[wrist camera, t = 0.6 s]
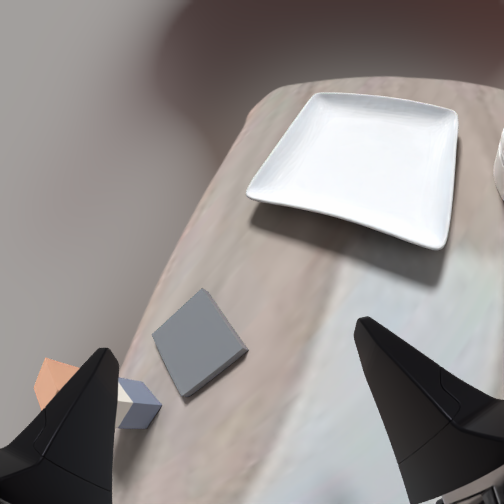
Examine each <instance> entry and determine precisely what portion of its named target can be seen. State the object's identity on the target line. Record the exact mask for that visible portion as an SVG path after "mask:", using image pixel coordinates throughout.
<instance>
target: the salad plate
mask: <svg viewBox="0 0 504 504" xmlns="http://www.w3.org/2000/svg"><path fill="white" fill-rule="evenodd" d="M457 138H458V115H457V113H456V112H455V111H453V110H450V109H447V108H443V107H439V106H435V105H431V104H426V103H421V102H416V101H411V100H405V99H399V98H392V97H384V96H375V95H365V94H351V93H316V94H314V95H313V96H312V97H311V98H310V99H309V101H308V102H307V103H306V105H305V106H304V108H303V109H302V110H301V112H300V113H299V114H298V116H297V117H296V119H295V120H294V121H293V123H292V124H291V126H290V127H289V128H288V130H287V131H286V133H285V134H284V135H283V137H282V138H281V140H280V141H279V143H278V144H277V145H276V147H275V148H274V150H273V151H272V152H271V154H270V155H269V157H268V158H267V159H266V161H265V162H264V164H263V165H262V166H261V168H260V169H259V171H258V172H257V173H256V175H255V176H254V178H253V179H252V181H251V183H250V184H249V186H248V188H247V191H246V195H247V197H248V198H250V199H251V200H254V201H258V202H264V203H270V204H275V205H281V206H287V207H293V208H297V209H302V210H307V211H312V212H316V213H320V214H324V215H329V216H332V217H336V218H339V219H343V220H346V221H350V222H353V223H356V224H359V225H362V226H365V227H368V228H371V229H374V230H377V231H380V232H382V233H385V234H388V235H391V236H393V237H396V238H399V239H402V240H404V241H407V242H410V243H412V244H415V245H418V246H421V247H424V248H427V249H431V250H441V249H442V248H443V247H444V246H445V244H446V241H447V237H448V232H449V226H450V219H451V211H452V202H453V191H454V178H455V163H456V148H457Z"/></svg>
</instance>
